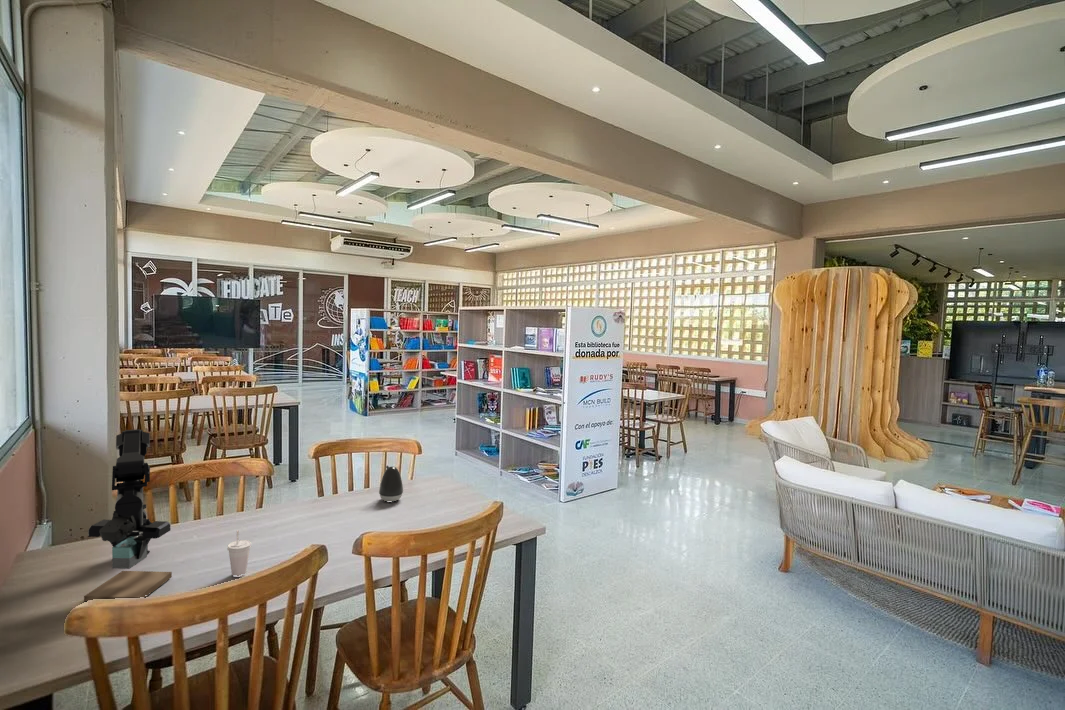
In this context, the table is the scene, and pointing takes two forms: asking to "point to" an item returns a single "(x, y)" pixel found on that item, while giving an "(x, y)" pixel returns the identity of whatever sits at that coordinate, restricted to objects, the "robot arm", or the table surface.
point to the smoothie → (239, 555)
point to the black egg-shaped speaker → (391, 485)
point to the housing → (126, 554)
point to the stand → (129, 585)
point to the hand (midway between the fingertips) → (130, 558)
